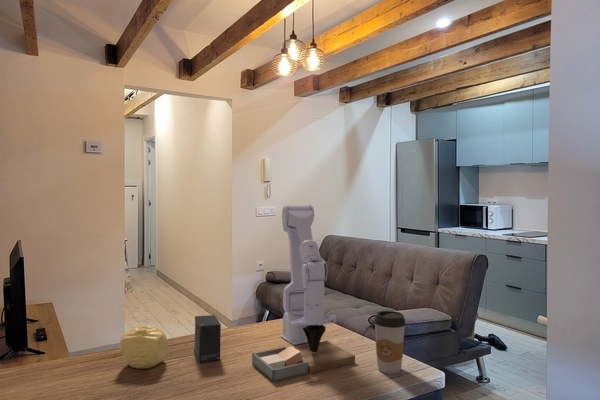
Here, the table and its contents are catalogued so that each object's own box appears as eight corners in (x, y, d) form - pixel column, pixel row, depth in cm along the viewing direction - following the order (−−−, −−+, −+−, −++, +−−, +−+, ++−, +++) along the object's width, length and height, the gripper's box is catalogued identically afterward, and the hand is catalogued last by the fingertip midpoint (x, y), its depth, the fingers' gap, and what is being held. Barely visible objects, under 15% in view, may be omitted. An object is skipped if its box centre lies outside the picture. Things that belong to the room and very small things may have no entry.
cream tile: (259, 366, 112) (259, 357, 112) (276, 363, 115) (276, 354, 115) (267, 373, 108) (267, 364, 108) (284, 369, 111) (284, 360, 111)
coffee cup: (369, 371, 111) (370, 316, 111) (378, 360, 118) (379, 308, 118) (400, 378, 107) (401, 320, 107) (408, 366, 114) (408, 312, 114)
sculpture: (114, 373, 109) (114, 332, 109) (134, 355, 121) (134, 318, 121) (157, 373, 108) (157, 333, 108) (173, 356, 120) (173, 319, 120)
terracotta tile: (278, 362, 115) (276, 354, 115) (293, 353, 118) (291, 345, 117) (287, 369, 111) (284, 360, 110) (302, 359, 113) (300, 351, 113)
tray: (252, 363, 115) (252, 353, 115) (284, 356, 121) (284, 346, 121) (273, 382, 104) (273, 370, 104) (308, 373, 109) (308, 362, 109)
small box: (221, 360, 118) (222, 323, 118) (198, 363, 115) (198, 326, 115) (215, 347, 128) (215, 313, 128) (193, 350, 125) (193, 315, 125)
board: (284, 356, 121) (284, 349, 121) (327, 346, 129) (327, 340, 129) (310, 374, 109) (310, 366, 109) (355, 362, 117) (355, 355, 117)
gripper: (299, 310, 111) (298, 360, 111) (342, 303, 118) (342, 350, 118) (286, 304, 117) (286, 351, 117) (328, 298, 124) (328, 343, 124)
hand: (313, 350), depth 118 cm, fingers closed
